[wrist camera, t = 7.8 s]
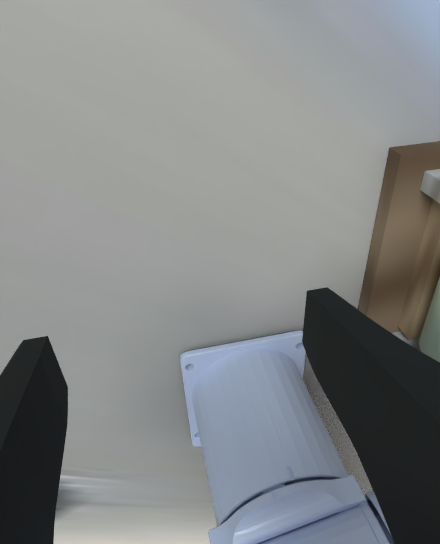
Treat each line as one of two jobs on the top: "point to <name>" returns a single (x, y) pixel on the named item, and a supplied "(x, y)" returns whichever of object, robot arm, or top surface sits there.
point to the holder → (405, 243)
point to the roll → (432, 328)
